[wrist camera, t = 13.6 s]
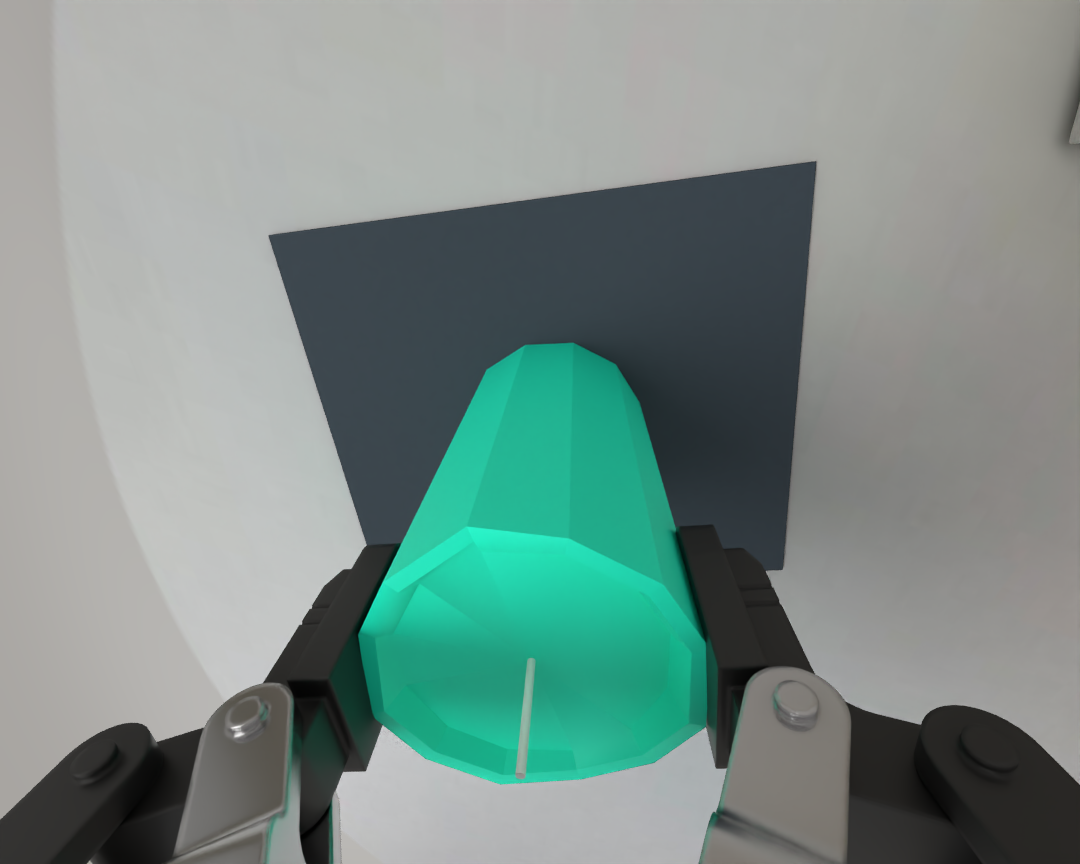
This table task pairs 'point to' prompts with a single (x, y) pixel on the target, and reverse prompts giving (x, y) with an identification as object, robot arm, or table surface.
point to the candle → (541, 588)
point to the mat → (571, 333)
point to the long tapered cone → (1076, 129)
